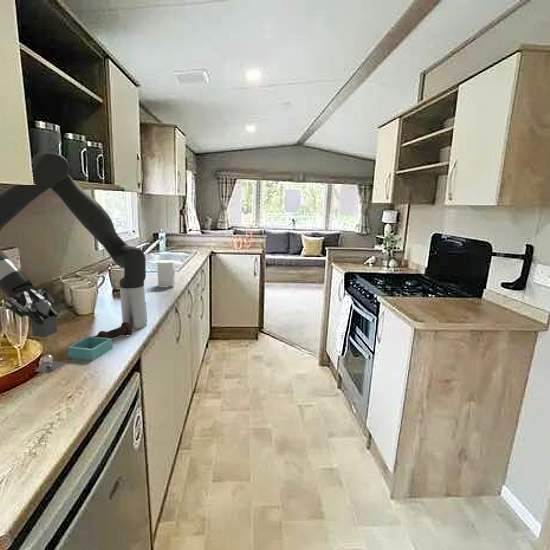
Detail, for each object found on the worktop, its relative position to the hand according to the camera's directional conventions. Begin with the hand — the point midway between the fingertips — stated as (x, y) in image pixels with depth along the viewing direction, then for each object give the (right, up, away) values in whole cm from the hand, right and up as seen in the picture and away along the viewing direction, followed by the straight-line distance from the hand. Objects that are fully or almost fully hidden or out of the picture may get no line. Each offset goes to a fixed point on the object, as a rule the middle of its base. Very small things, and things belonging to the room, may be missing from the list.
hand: (48, 320), depth 110 cm
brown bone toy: (+6, -11, +29) cm, 31 cm away
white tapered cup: (+2, +7, +112) cm, 112 cm away
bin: (+6, -14, +14) cm, 21 cm away
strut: (-2, -4, +1) cm, 5 cm away
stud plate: (-2, -16, +4) cm, 17 cm away
